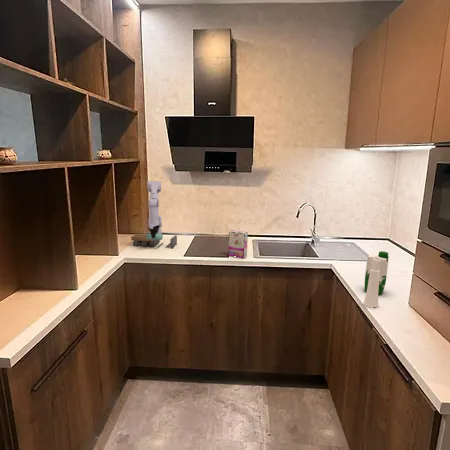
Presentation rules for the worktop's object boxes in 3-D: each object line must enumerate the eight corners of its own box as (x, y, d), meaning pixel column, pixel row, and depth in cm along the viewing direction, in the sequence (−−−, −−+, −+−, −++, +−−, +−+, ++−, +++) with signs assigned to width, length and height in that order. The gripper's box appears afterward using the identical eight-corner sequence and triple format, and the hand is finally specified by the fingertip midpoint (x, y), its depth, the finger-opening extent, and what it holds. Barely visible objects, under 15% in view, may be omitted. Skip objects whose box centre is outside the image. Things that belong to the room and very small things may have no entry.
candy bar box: (247, 257, 210) (248, 231, 207) (244, 259, 206) (244, 233, 202) (231, 254, 215) (232, 229, 212) (228, 256, 211) (228, 231, 208)
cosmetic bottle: (375, 309, 140) (381, 259, 136) (361, 304, 144) (366, 256, 140) (380, 305, 144) (386, 257, 140) (366, 300, 149) (372, 253, 144)
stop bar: (174, 244, 236) (174, 235, 235) (176, 244, 236) (176, 235, 235) (170, 248, 225) (170, 239, 224) (172, 248, 225) (172, 239, 224)
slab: (136, 236, 238) (136, 233, 238) (155, 238, 236) (155, 234, 236) (131, 240, 228) (131, 236, 228) (150, 241, 227) (150, 237, 226)
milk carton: (382, 297, 153) (387, 255, 149) (361, 292, 158) (366, 252, 154) (385, 291, 160) (390, 251, 156) (365, 286, 165) (370, 248, 161)
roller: (146, 238, 219) (146, 232, 220) (147, 239, 222) (148, 234, 224) (160, 238, 218) (161, 233, 219) (162, 240, 222) (162, 234, 223)
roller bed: (138, 242, 239) (138, 237, 238) (170, 244, 236) (170, 238, 235) (132, 245, 229) (132, 240, 228) (166, 247, 226) (166, 242, 225)
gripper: (151, 215, 226) (151, 234, 228) (144, 218, 211) (145, 239, 214) (161, 215, 225) (161, 234, 228) (155, 219, 211) (156, 239, 214)
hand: (154, 237), depth 221 cm, fingers closed on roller, 4 cm apart
